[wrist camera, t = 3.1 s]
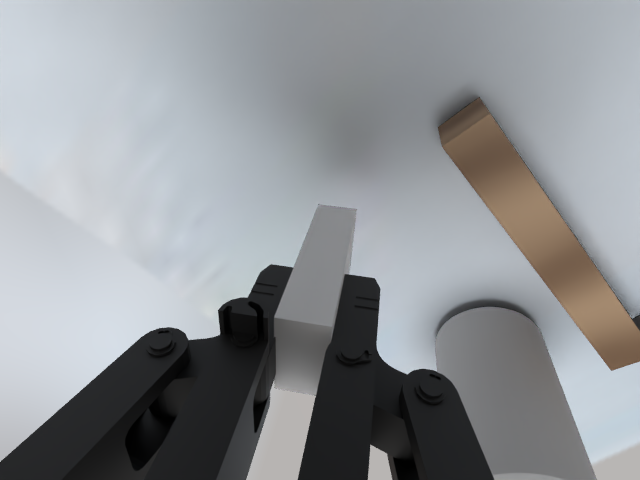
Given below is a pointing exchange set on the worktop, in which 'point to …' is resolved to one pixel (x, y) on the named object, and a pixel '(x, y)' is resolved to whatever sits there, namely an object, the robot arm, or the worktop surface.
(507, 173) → the bar
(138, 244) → the worktop surface
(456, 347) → the beverage can
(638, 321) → the bar
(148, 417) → the robot arm
